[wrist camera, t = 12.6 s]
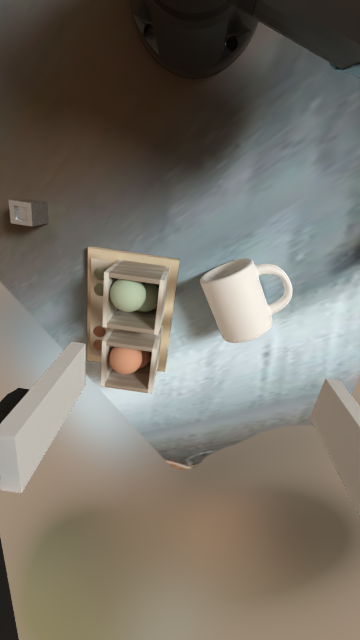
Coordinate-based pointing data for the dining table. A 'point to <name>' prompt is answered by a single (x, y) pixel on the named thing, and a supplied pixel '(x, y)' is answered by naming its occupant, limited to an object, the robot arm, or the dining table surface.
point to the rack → (129, 314)
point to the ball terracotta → (125, 360)
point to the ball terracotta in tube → (145, 358)
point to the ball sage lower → (149, 297)
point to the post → (28, 212)
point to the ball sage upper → (127, 295)
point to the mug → (242, 298)
